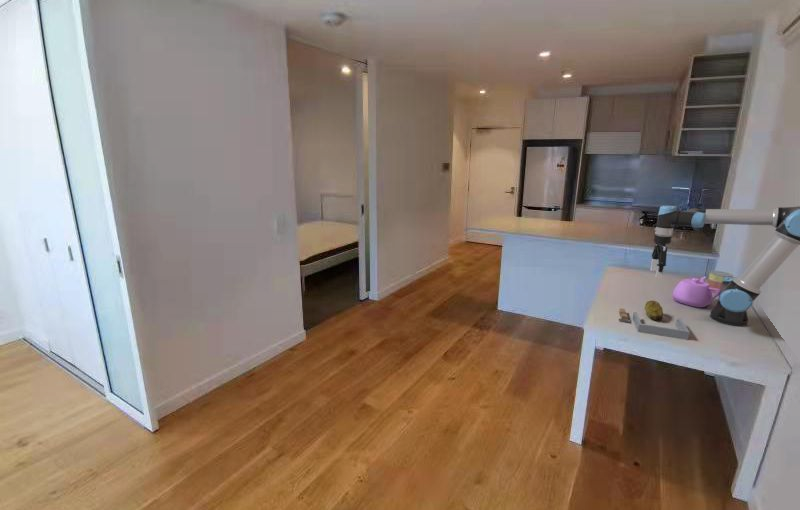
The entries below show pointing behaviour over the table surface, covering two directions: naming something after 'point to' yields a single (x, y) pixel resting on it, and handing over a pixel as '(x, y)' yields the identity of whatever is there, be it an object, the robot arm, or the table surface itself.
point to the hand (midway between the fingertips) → (655, 274)
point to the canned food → (717, 279)
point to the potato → (654, 310)
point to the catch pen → (662, 329)
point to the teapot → (694, 292)
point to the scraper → (623, 316)
